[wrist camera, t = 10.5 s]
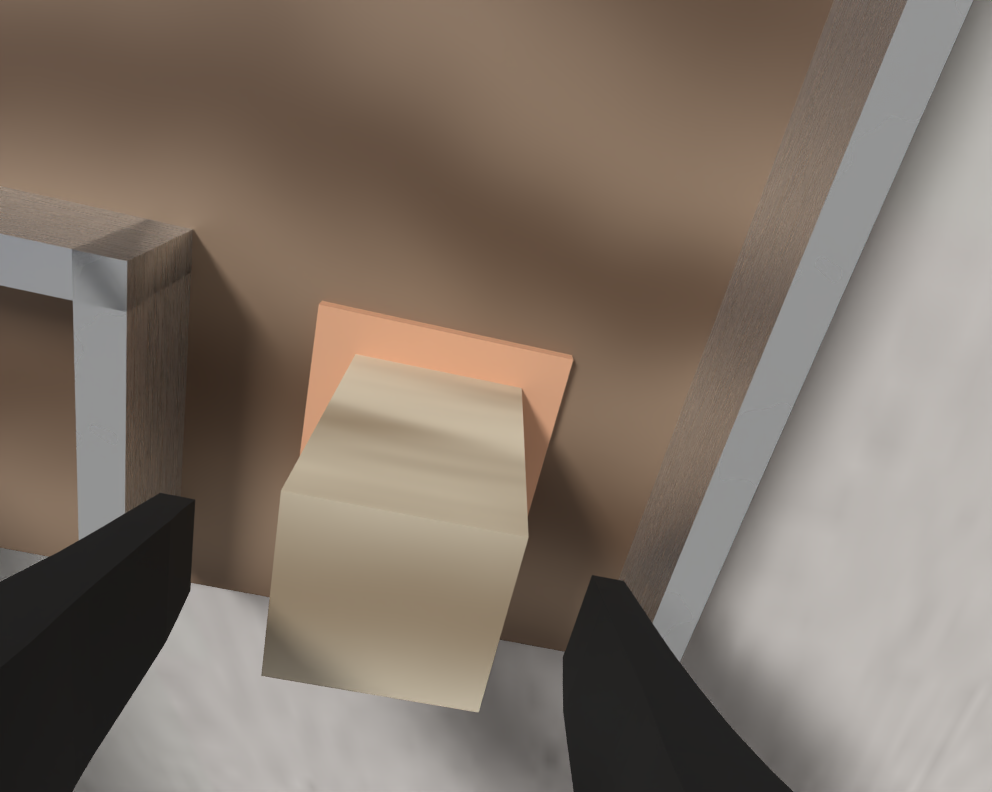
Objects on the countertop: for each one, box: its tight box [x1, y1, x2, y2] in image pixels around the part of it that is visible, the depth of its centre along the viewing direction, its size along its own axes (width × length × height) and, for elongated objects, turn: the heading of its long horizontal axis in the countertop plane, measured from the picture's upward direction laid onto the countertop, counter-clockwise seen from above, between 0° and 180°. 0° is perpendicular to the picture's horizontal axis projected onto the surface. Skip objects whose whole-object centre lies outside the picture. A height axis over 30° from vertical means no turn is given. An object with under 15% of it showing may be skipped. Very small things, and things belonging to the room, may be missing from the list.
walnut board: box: [0, 0, 834, 651], centre depth 16 cm, size 24×24×1 cm
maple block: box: [261, 354, 529, 712], centre depth 15 cm, size 4×4×6 cm
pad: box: [300, 301, 573, 515], centre depth 18 cm, size 6×6×1 cm
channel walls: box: [0, 0, 973, 662], centre depth 14 cm, size 21×20×3 cm
